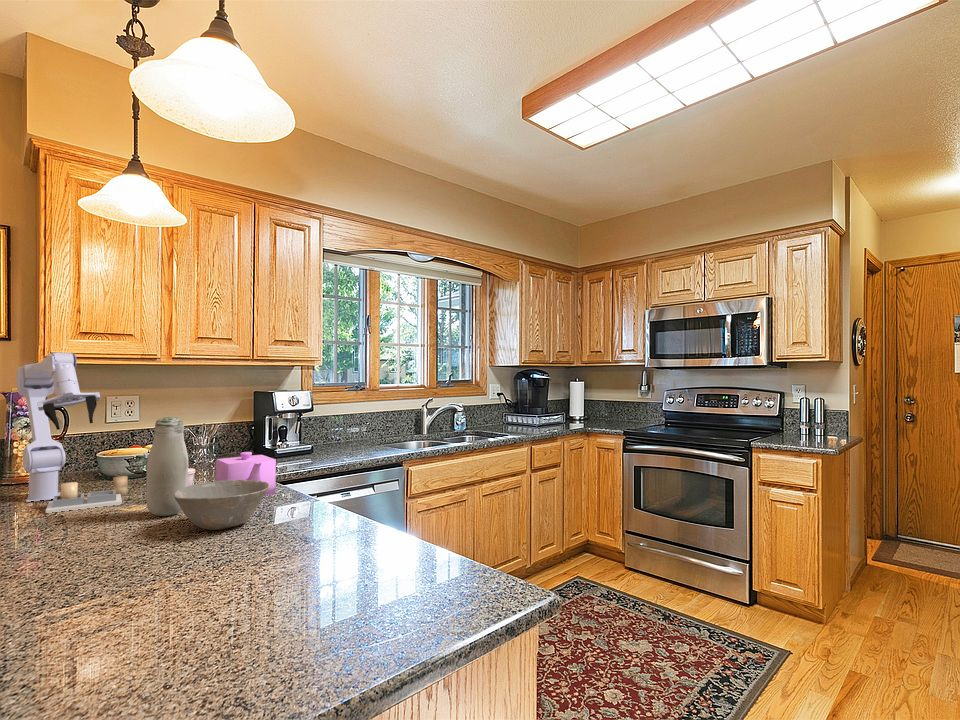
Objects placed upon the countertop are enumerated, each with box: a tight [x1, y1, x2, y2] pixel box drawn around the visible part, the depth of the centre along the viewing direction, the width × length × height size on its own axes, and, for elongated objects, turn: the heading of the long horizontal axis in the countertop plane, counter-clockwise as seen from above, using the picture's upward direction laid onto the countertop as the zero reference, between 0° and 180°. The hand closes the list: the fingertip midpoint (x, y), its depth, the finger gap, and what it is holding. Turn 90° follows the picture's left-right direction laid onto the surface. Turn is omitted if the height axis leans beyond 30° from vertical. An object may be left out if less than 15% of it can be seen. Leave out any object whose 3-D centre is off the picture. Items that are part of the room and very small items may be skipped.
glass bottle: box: [145, 416, 189, 517], centre depth 149 cm, size 10×10×28 cm
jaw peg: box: [112, 475, 129, 497], centre depth 172 cm, size 4×4×6 cm
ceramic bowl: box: [174, 480, 270, 531], centre depth 139 cm, size 22×23×10 cm
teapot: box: [215, 451, 277, 496], centre depth 174 cm, size 15×25×14 cm, turn 42°
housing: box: [45, 481, 123, 514], centre depth 159 cm, size 12×18×7 cm, turn 126°
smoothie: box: [187, 467, 196, 486], centre depth 165 cm, size 6×6×14 cm
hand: (74, 424), depth 150 cm, fingers open, 7 cm apart
